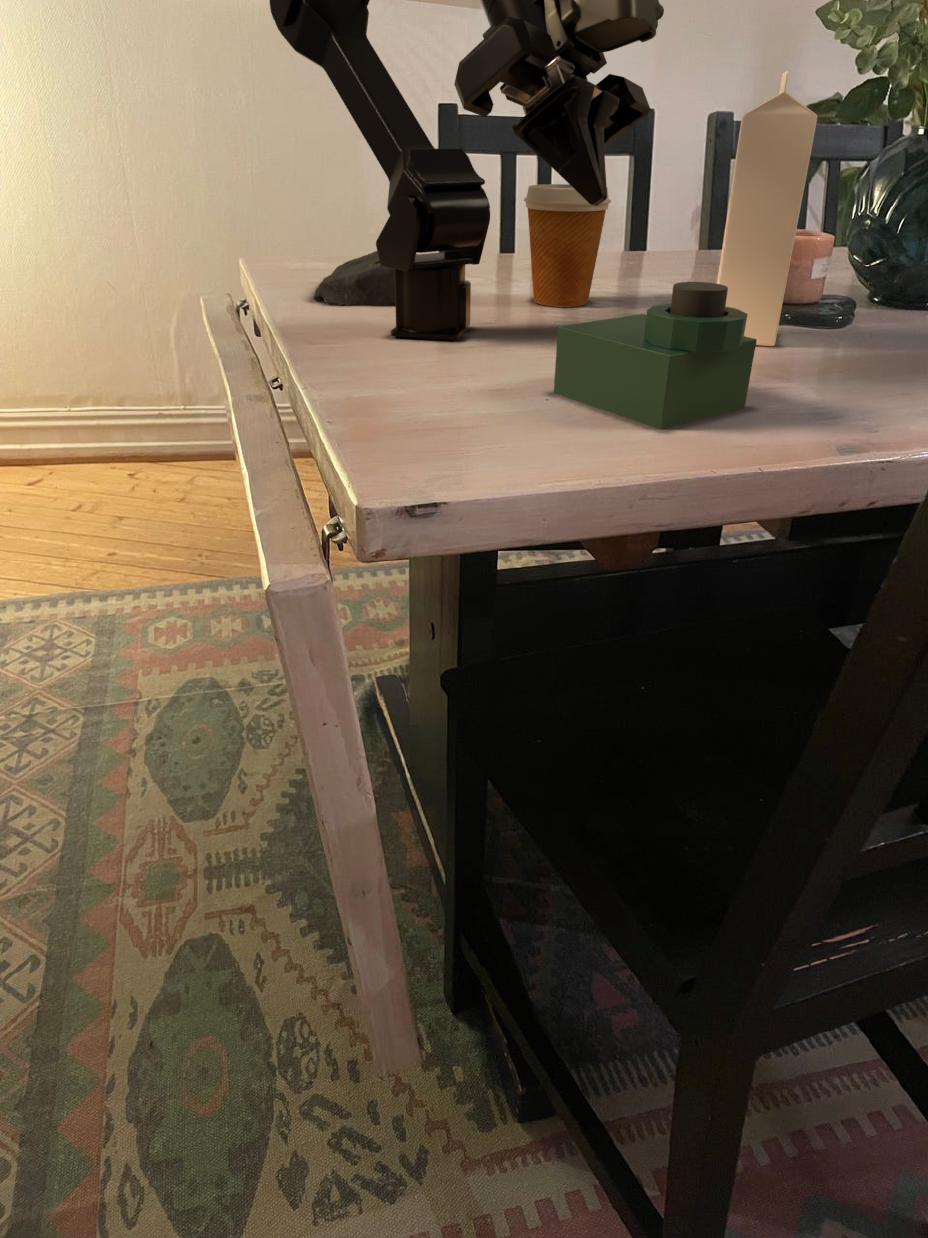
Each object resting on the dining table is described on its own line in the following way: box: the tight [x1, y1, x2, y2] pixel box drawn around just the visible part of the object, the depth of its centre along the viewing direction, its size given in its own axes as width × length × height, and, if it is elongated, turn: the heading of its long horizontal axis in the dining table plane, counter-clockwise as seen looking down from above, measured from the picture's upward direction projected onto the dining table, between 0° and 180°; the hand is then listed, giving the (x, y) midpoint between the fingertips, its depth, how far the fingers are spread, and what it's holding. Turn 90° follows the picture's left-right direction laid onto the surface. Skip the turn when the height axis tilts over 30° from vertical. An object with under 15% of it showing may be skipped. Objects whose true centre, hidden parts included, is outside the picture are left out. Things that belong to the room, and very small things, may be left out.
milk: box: [716, 69, 818, 347], centre depth 79 cm, size 6×6×22 cm
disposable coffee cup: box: [523, 183, 612, 308], centre depth 97 cm, size 10×10×12 cm
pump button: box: [670, 281, 728, 318], centre depth 58 cm, size 4×4×2 cm
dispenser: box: [553, 302, 757, 431], centre depth 62 cm, size 12×9×7 cm
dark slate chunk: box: [313, 250, 419, 306], centre depth 105 cm, size 15×22×5 cm
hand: (599, 202), depth 64 cm, fingers closed
